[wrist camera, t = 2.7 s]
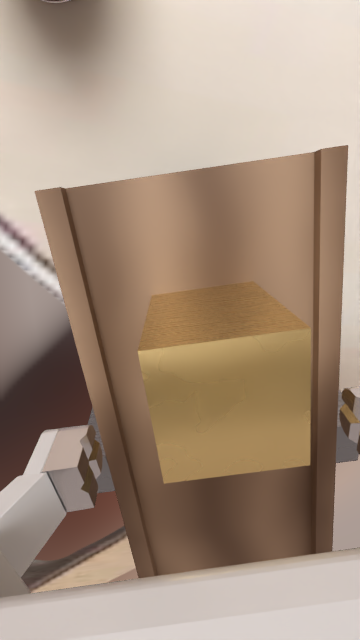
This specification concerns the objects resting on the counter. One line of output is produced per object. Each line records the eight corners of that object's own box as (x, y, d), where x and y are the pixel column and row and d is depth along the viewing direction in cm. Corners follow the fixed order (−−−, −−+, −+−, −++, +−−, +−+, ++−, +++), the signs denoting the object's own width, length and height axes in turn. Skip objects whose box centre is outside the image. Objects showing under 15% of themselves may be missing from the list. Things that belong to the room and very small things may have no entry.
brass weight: (253, 281, 14) (310, 327, 8) (258, 371, 15) (310, 464, 10) (151, 295, 14) (137, 351, 8) (166, 383, 15) (163, 483, 10)
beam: (312, 159, 14) (348, 145, 11) (310, 581, 24) (329, 630, 21) (61, 195, 15) (34, 191, 12) (159, 599, 24) (158, 649, 21)
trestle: (310, 175, 20) (426, 184, 11) (298, 383, 28) (359, 485, 19) (56, 212, 20) (-27, 249, 12) (115, 407, 28) (93, 518, 20)
